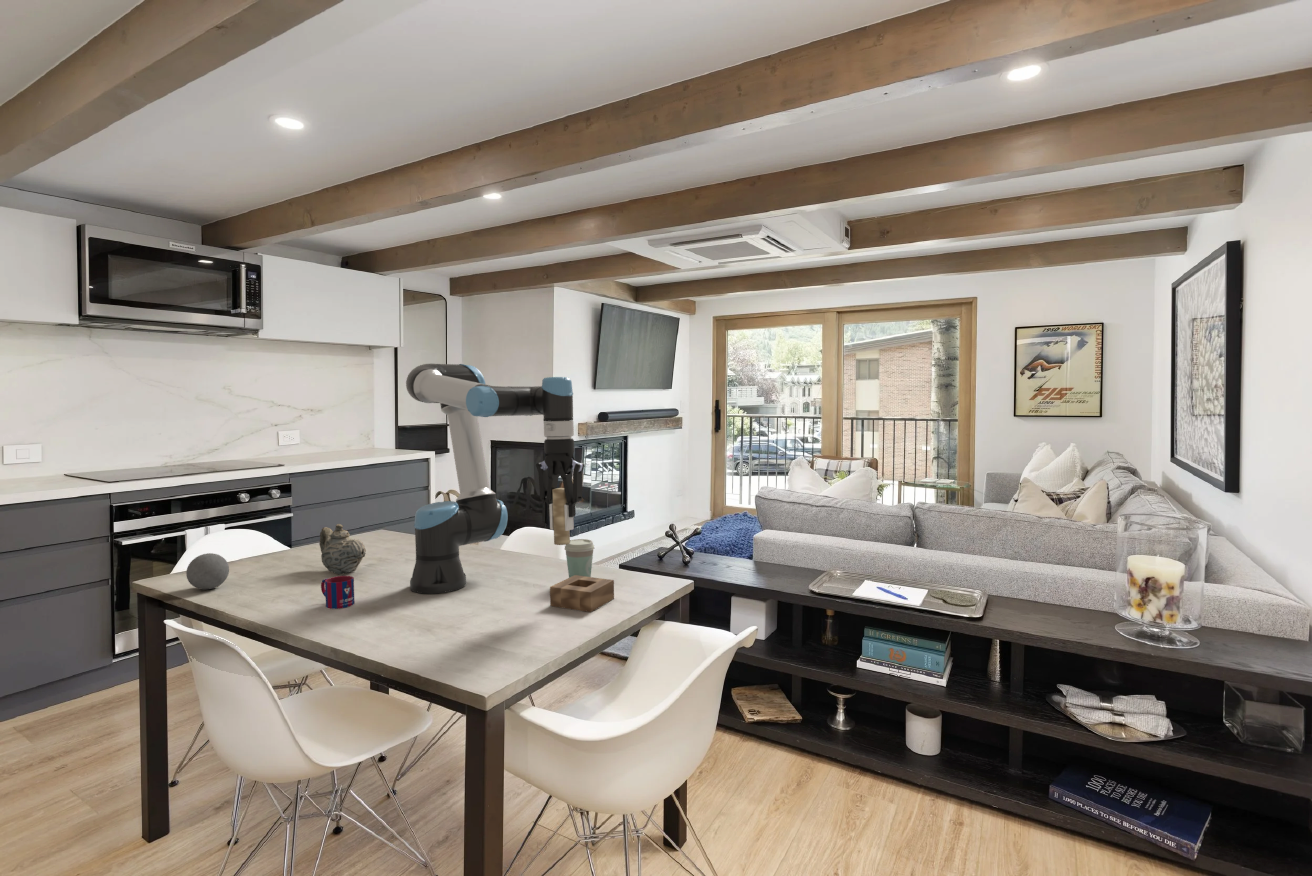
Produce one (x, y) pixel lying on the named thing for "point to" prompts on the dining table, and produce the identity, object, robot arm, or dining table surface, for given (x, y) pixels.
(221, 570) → the decorative ball
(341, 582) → the cup
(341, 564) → the teapot
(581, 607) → the socket
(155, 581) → the dining table surface
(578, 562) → the coffee cup
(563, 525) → the peg
